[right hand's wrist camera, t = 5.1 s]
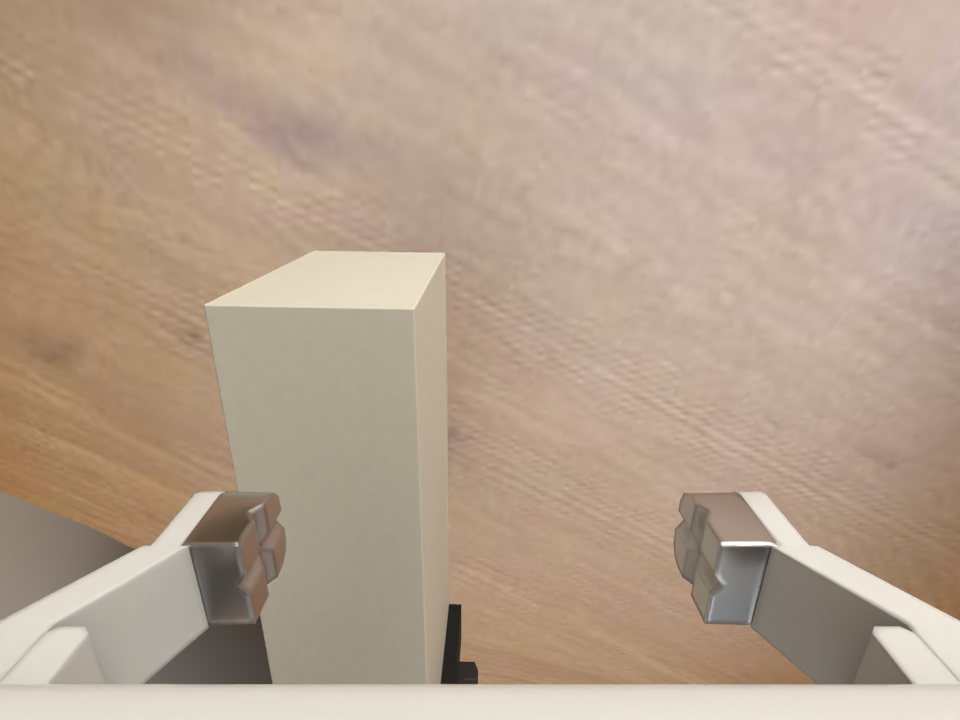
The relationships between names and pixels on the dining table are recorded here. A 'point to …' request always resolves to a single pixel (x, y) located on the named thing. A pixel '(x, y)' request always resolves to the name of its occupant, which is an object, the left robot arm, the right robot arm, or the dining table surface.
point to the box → (345, 458)
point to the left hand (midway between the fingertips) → (398, 619)
